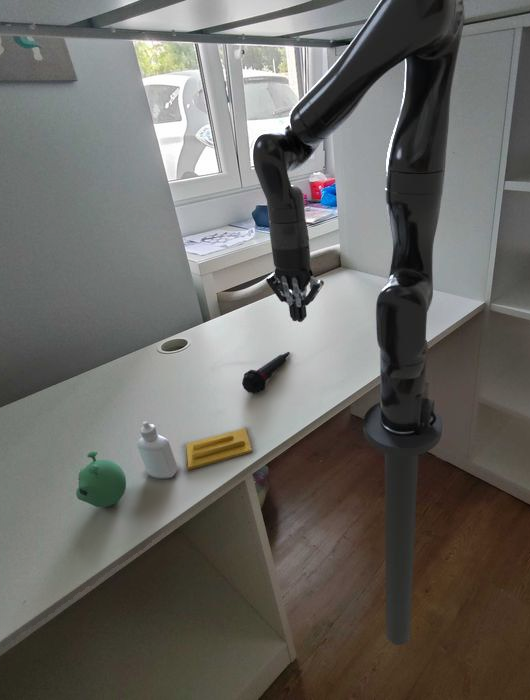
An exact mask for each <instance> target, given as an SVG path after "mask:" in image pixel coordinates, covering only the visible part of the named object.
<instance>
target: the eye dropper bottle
mask: <svg viewBox="0 0 530 700" xmlns="http://www.w3.org/2000/svg"><path fill="white" fill-rule="evenodd" d="M142 423H143V426H141V428H140V435H141V437H140V438H139V440H138V441H137V443H136V445H137V449H138V451H139V454H140V458H141V460H142V462H143V465H144V468H145V470H146V473H147V474H148V475H149V476H151V477H153V478H154V479H155V478H156V479H171V478H173V477H174V476H175V475H176V473H177V472H178V470H179V468H178V465H177V462H176V458H175V455H174V453H173V450H172V446H171V443H170V442H169V440H168V439H167V438H166V437H164V436H162V435H160V434H158V432H157V428H156V426H155V425H154V424H152V423H149V422H148V421H147V420H144V421H143V422H142Z"/></svg>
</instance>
